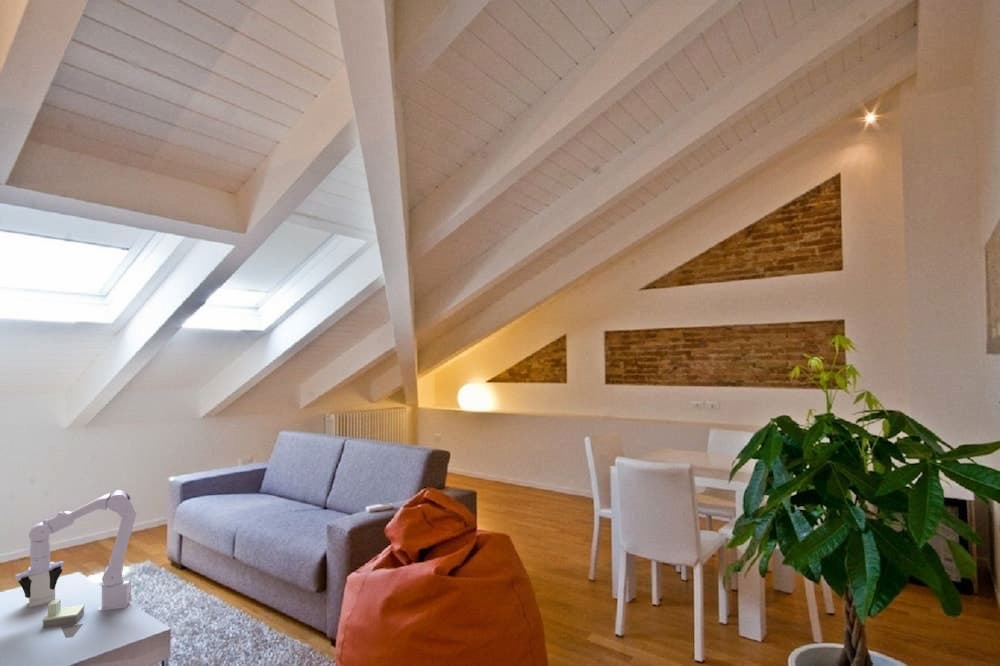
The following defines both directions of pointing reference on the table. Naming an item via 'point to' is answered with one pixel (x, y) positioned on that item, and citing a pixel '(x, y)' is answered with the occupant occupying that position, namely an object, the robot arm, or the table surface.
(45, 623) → the tub
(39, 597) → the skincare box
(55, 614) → the lid
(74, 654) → the table surface
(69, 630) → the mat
